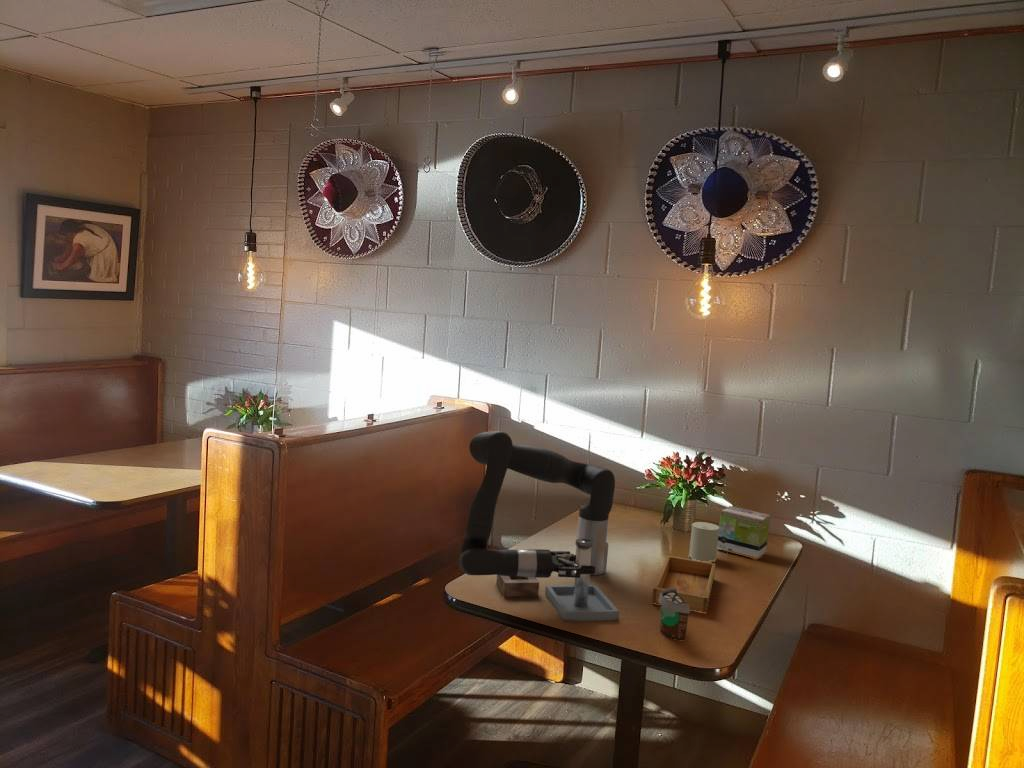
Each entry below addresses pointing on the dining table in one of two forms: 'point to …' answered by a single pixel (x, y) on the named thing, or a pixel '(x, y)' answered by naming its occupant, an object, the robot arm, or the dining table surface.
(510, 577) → the socket block
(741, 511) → the tea box
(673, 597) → the food container
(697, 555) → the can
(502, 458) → the robot arm
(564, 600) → the pin tray
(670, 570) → the tray
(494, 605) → the dining table surface
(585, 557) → the steel pin
